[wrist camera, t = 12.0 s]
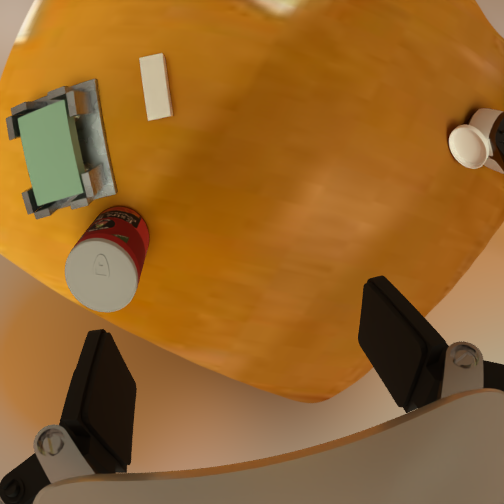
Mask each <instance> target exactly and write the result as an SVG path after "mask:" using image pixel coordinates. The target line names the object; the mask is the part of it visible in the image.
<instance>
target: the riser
mask: <svg viewBox="0 0 504 504" xmlns="http://www.w3.org/2000/svg"><path fill="white" fill-rule="evenodd" d="M139 59H140V67H141V75H142V83H143V90H144V97H145V104H146V110H147V117H148V121H150V120H154V119H159V118H164V117H169V116H173V111H172V104H171V97H170V90H169V82H168V75H167V67H166V59H165V57H164V55H163V53H160V54H155V55H151V56H146V57H142V58H139Z"/></svg>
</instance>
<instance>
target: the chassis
mask: <svg viewBox="0 0 504 504" xmlns="http://www.w3.org/2000/svg"><path fill="white" fill-rule="evenodd" d="M64 99H67V102H68V109H69V115H70V117H72V116H74V119H75V125H76V130H77V135H78V141H79V146H80V150H81V155H82V160H83V164H84V168H85V172H84V173H82V174H81V175H82V180H83V184H84V188H85V192H84V193H81V194H77V195H73V196H70V197H66V198H63V199H60V200H56V201H53V202H50V203H46V204H43V205H40V206H38V205H37V202H36V198H35V195H34V191H33V188H32V187H31V188H29V189H28V190H26V191H24V192H23V193H22V196H23V199H24V203H25V206H26V210H27V213H28V214H31V213H34V214H35V217H36V219H40V218H43V217H47V216H50V215H51V214H53V213H54V212H55V211H56V210H57V209H60V208H63V207H67V206H70V205H71V209H76V208H80V207H84V206H88V205H89V204H90V203H91V202H92V201H93V200H94V199H98V198H102V197H106V196H110V195H114V194H116V193H117V192H118V191H117V187H116V183H115V178H114V174H113V169H112V165H111V160H110V155H109V150H108V145H107V140H106V134H105V129H104V123H103V117H102V111H101V104H100V98H99V91H98V83H97V79H92V80H89V81H86V82H83V83H80V84H77V85H74V86H71V87H68V86H63V87H61V88H58V89H55V90H53V91H50V92H48V95H47V96H45V97H42V98H40V99H37V100H35V101H33V102H24V103H22V104H20V105H17V106H15V107H13V108H11V112H12V115H13V116H10V117H8V118H6V122H7V128H8V134H9V140H12V139H16V138H20V137H21V135H20V129H19V124H18V118H20V117H22V116H24V115H27V114H29V113H31V112H34V111H36V110H38V109H41V108H43V107H46V106H48V105H51V104H53V103H56V102H59V101H61V100H64ZM20 114H21V115H20ZM40 207H41V208H40ZM36 210H37V211H36ZM35 211H36V212H35Z"/></svg>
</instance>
